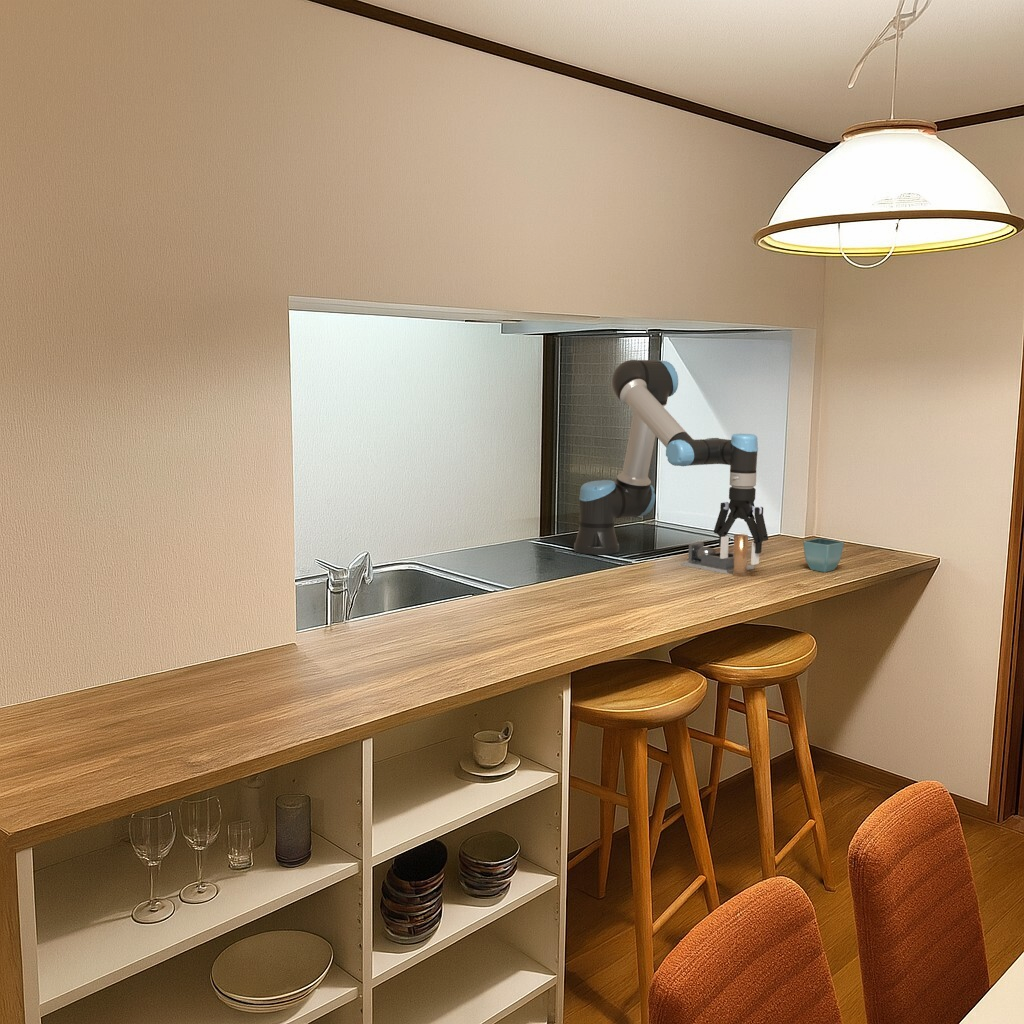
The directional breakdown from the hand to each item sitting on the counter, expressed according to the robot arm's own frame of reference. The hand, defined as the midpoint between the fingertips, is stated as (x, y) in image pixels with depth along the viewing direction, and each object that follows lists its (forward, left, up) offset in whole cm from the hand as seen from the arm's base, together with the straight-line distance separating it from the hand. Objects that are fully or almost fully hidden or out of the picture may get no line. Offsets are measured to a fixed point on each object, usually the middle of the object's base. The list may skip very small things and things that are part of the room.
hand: (739, 561), depth 288 cm
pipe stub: (0, 0, -4) cm, 4 cm away
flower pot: (+11, +26, -4) cm, 29 cm away
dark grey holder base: (-12, +5, -4) cm, 14 cm away
